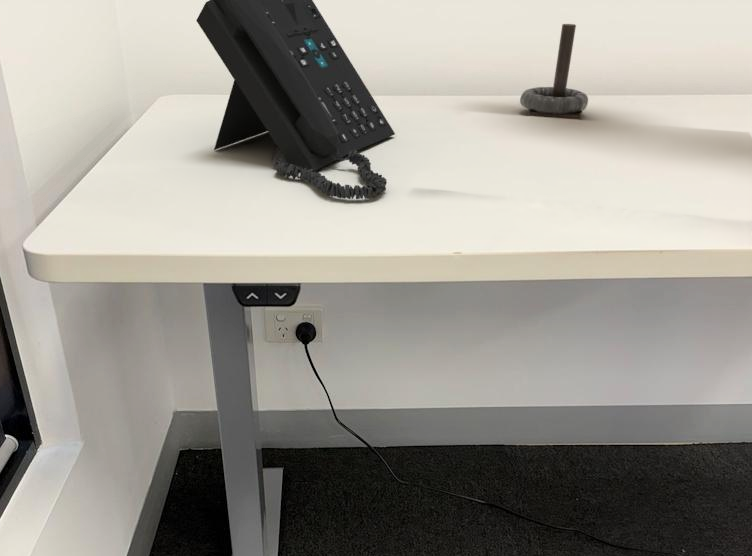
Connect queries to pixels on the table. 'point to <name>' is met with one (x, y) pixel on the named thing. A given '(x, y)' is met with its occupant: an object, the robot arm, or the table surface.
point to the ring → (553, 101)
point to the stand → (562, 72)
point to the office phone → (294, 90)
